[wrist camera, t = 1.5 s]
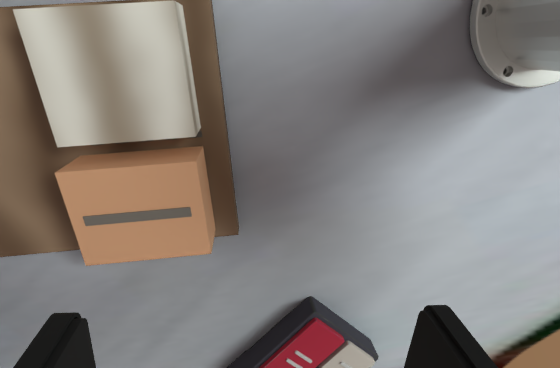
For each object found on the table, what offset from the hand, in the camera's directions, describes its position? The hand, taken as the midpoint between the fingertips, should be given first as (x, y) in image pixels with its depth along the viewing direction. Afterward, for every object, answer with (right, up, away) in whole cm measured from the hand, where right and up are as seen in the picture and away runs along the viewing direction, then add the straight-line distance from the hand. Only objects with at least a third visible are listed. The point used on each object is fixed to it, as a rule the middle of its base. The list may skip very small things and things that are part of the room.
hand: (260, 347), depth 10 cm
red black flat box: (+3, -16, +32) cm, 36 cm away
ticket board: (-17, +8, +19) cm, 27 cm away
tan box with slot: (-11, +4, +20) cm, 23 cm away
